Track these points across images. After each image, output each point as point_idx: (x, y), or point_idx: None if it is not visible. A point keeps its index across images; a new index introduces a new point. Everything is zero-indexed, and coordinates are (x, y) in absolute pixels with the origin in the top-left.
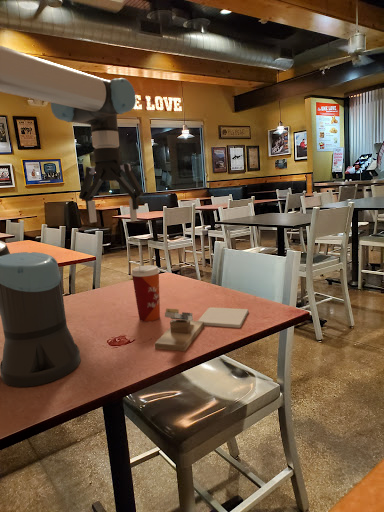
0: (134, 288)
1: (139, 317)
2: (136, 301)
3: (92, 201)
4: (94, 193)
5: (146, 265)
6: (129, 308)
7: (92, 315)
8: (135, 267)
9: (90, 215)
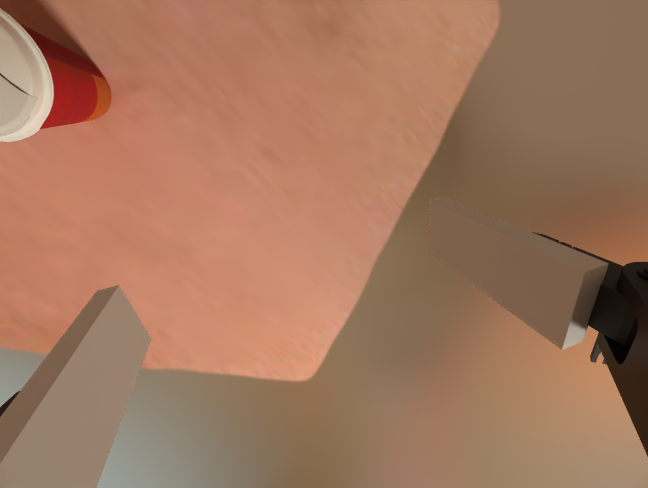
0: (38, 34)
1: (85, 59)
2: (67, 50)
3: (564, 309)
4: (645, 404)
5: (4, 121)
6: (202, 139)
7: (259, 56)
8: (22, 68)
9: (470, 213)
